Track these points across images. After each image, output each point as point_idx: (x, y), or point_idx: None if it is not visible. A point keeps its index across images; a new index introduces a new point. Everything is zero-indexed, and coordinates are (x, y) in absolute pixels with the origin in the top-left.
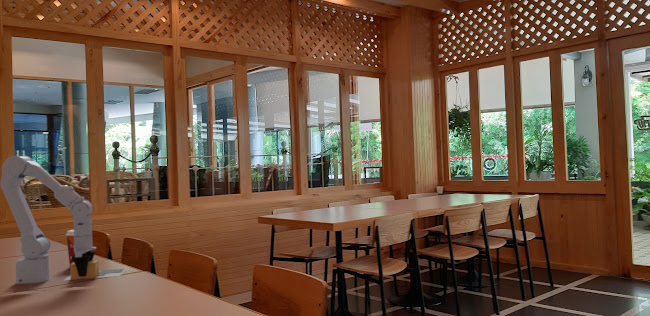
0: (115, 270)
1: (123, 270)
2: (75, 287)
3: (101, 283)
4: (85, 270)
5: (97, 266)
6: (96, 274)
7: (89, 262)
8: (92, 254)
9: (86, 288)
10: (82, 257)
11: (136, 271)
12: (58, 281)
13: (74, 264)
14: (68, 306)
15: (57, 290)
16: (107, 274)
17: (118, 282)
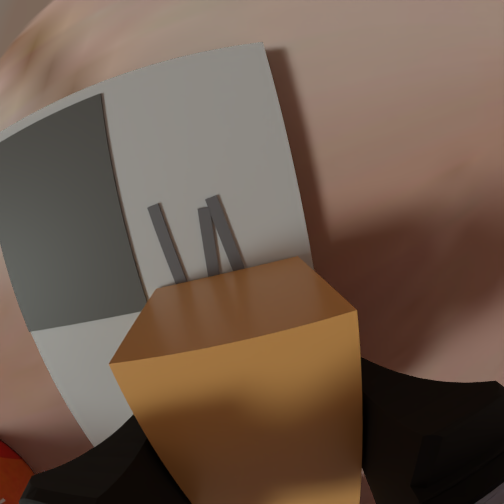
0: (26, 194)
1: (29, 121)
2: (460, 295)
3: (400, 152)
4: (363, 361)
5: (206, 310)
6: (266, 269)
7: (310, 409)
8: (119, 500)
9: (491, 208)
10: (499, 442)
11: (13, 63)
12: None
13: (359, 487)
14: None
15: (480, 354)
16: (169, 192)
17: (377, 37)
